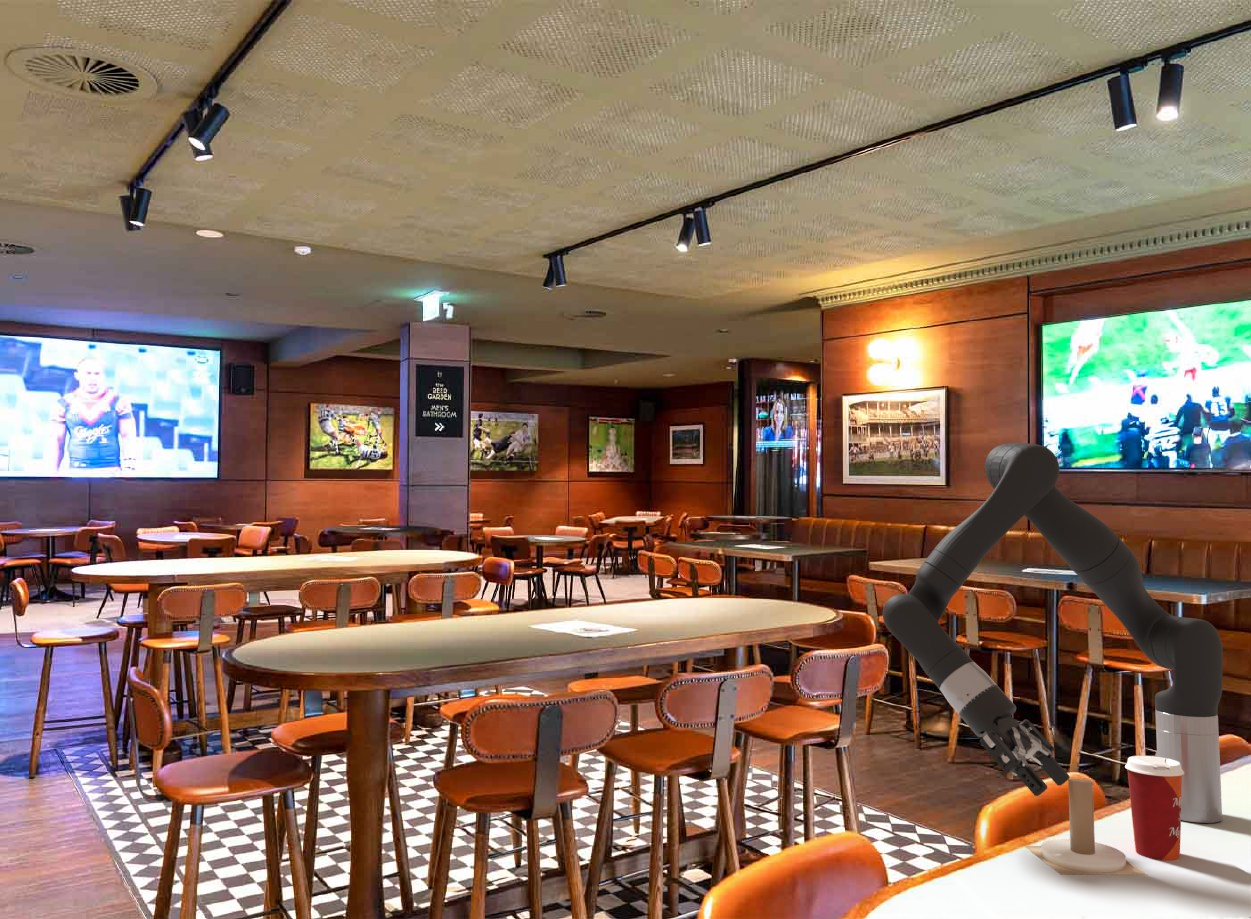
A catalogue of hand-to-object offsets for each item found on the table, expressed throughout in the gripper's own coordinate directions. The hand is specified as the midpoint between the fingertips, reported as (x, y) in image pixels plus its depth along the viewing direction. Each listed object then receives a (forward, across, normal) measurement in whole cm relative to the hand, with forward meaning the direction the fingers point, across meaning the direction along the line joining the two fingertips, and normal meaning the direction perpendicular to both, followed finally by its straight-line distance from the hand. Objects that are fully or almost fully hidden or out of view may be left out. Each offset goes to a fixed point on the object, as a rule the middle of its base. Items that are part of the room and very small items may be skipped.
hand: (1054, 787), depth 140 cm
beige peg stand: (+9, 0, +4) cm, 10 cm away
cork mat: (+10, 0, +4) cm, 11 cm away
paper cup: (+15, +11, 0) cm, 18 cm away
